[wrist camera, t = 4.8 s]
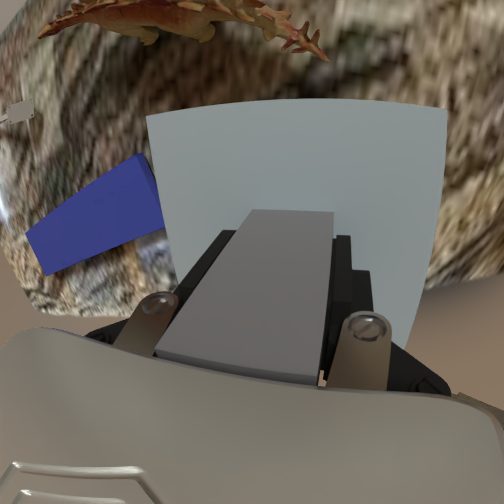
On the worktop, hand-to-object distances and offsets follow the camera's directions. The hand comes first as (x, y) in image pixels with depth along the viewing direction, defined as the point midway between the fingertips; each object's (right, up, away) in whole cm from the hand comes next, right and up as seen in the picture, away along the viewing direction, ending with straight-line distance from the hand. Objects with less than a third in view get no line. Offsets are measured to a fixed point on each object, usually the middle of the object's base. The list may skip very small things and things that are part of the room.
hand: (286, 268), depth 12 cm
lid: (+1, +1, +2) cm, 3 cm away
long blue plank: (-28, +5, +32) cm, 43 cm away
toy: (-8, +27, +14) cm, 31 cm away
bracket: (-46, +26, +26) cm, 59 cm away
